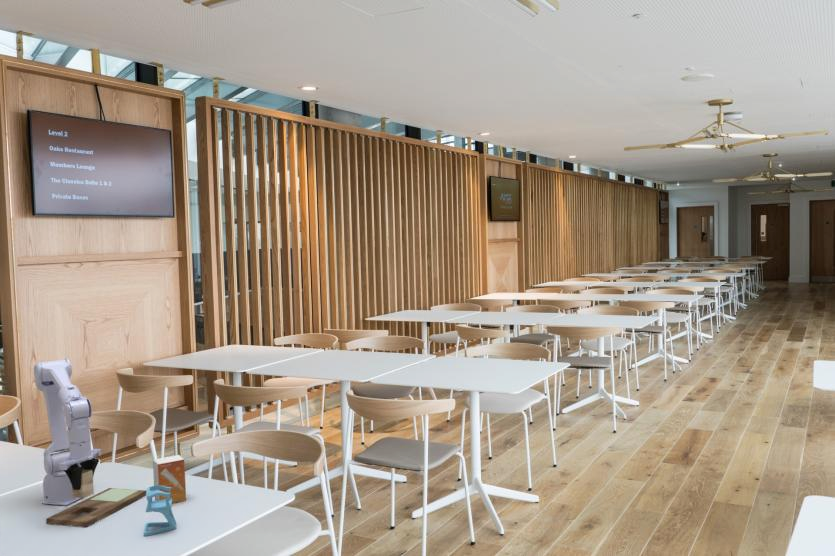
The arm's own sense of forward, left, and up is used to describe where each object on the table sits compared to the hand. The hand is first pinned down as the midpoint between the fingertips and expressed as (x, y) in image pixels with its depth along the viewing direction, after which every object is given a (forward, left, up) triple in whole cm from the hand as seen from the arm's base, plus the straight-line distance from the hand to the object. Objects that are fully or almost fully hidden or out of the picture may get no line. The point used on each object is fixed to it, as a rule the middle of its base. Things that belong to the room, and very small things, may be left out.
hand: (82, 486), depth 210 cm
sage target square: (0, +13, -7) cm, 15 cm away
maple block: (0, 0, -2) cm, 2 cm away
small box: (+18, +16, -9) cm, 26 cm away
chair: (+29, -4, -9) cm, 31 cm away
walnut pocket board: (0, +6, -9) cm, 11 cm away
